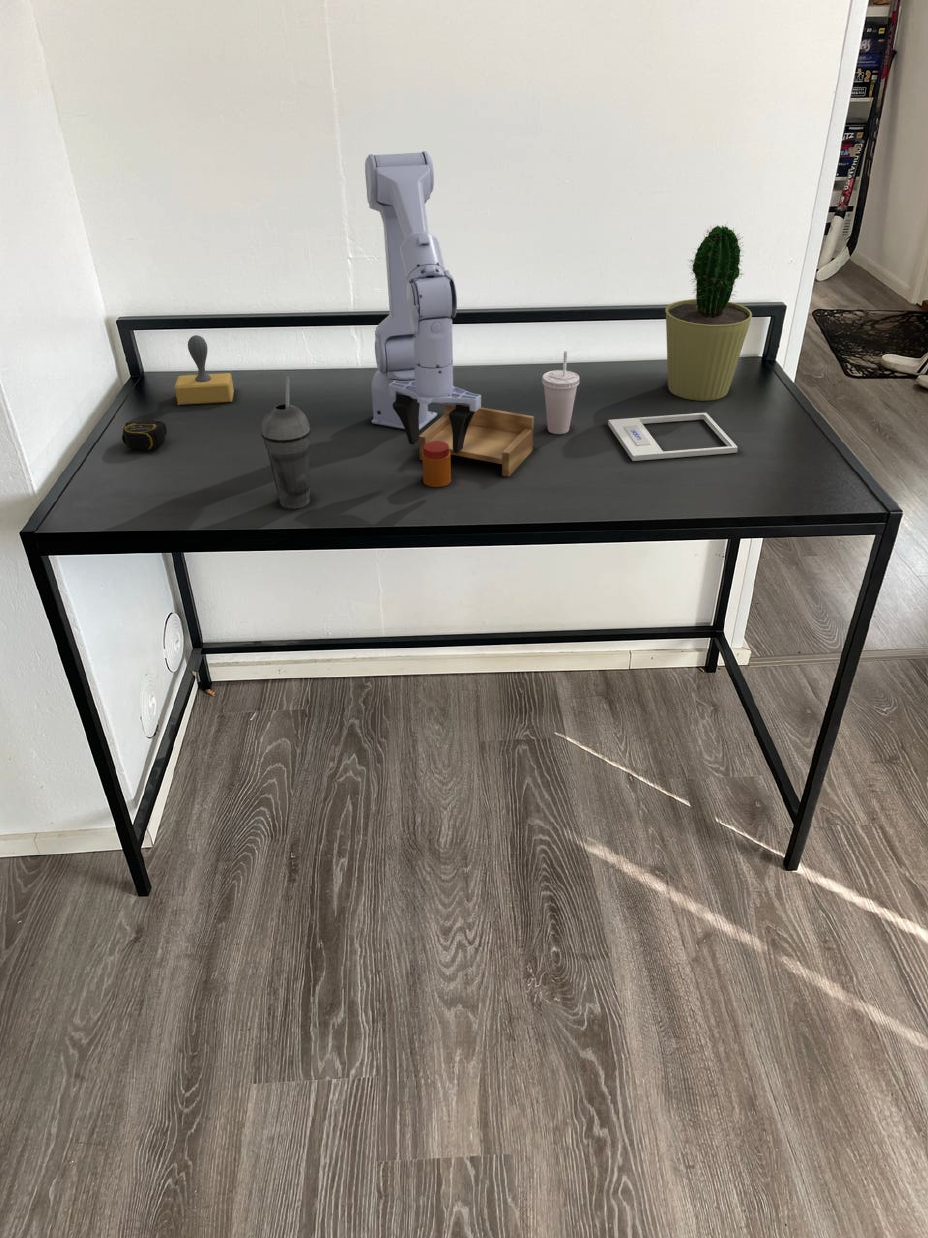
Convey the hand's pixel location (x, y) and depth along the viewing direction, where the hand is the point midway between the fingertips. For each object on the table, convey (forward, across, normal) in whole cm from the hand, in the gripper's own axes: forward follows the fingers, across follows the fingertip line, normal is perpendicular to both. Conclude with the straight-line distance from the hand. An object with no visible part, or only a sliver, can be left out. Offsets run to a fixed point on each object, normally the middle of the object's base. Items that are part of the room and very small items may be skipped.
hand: (435, 446), depth 147 cm
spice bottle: (+6, 0, 0) cm, 6 cm away
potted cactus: (+6, +29, +54) cm, 62 cm away
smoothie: (+6, +11, +26) cm, 29 cm away
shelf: (+6, +2, +11) cm, 13 cm away
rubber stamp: (+6, -55, +13) cm, 57 cm away
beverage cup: (+6, -17, -15) cm, 23 cm away
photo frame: (+6, +30, +30) cm, 43 cm away
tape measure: (+6, -52, -8) cm, 53 cm away
